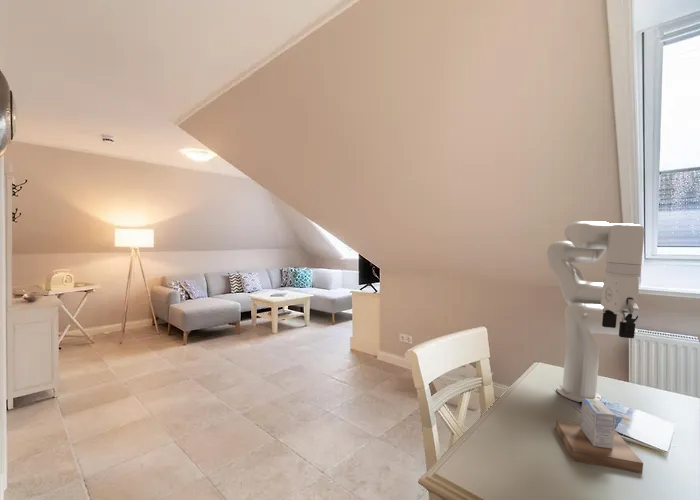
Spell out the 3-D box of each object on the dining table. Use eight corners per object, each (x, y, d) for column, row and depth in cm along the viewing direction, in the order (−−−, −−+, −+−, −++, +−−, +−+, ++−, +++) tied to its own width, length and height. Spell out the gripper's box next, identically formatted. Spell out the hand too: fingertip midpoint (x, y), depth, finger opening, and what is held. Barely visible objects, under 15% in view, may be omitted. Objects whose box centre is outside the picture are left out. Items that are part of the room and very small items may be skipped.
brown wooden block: (555, 428, 96) (556, 419, 96) (613, 438, 93) (614, 429, 93) (573, 460, 83) (574, 450, 83) (642, 473, 79) (643, 463, 79)
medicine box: (613, 450, 84) (616, 415, 83) (592, 446, 85) (595, 412, 84) (598, 431, 91) (600, 399, 91) (579, 428, 92) (581, 397, 92)
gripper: (593, 265, 102) (588, 322, 103) (622, 272, 85) (616, 340, 86) (622, 267, 100) (617, 325, 101) (658, 274, 83) (651, 343, 84)
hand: (617, 332), depth 94 cm, fingers open, 9 cm apart
